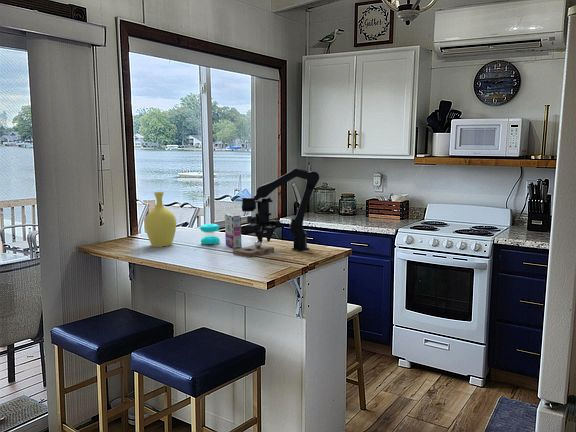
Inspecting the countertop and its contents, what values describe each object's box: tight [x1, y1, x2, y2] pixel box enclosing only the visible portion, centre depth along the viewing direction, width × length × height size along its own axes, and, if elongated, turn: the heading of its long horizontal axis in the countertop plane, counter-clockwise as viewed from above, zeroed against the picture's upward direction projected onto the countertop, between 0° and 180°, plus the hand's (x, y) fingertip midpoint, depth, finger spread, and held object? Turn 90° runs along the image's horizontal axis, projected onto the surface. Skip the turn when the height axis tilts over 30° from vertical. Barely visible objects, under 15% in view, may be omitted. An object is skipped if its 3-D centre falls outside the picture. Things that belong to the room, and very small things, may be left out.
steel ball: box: [253, 240, 263, 248], centre depth 242 cm, size 4×4×4 cm
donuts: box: [199, 223, 221, 245], centre depth 265 cm, size 10×10×10 cm
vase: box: [144, 191, 177, 248], centre depth 262 cm, size 16×16×28 cm
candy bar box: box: [224, 213, 243, 249], centre depth 255 cm, size 11×5×16 cm, turn 27°
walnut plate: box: [232, 244, 275, 259], centre depth 240 cm, size 16×12×2 cm
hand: (264, 242), depth 245 cm, fingers open, 5 cm apart
